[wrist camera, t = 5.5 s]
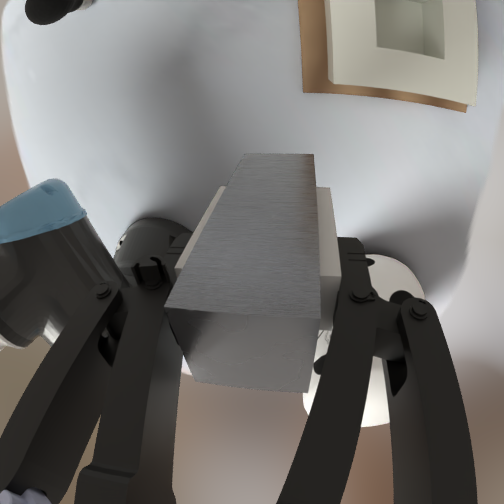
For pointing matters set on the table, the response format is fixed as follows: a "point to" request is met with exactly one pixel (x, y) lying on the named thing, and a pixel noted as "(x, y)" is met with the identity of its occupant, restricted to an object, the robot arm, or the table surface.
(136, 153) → the table surface
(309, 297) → the brushed grey pillar
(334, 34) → the well
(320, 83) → the board
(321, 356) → the milk container
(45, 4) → the light bulb
